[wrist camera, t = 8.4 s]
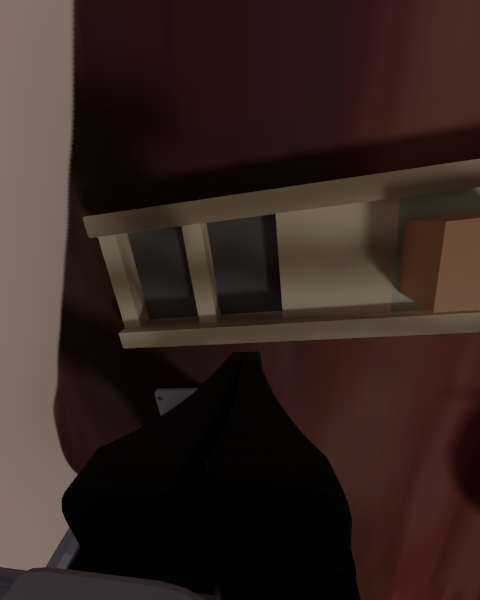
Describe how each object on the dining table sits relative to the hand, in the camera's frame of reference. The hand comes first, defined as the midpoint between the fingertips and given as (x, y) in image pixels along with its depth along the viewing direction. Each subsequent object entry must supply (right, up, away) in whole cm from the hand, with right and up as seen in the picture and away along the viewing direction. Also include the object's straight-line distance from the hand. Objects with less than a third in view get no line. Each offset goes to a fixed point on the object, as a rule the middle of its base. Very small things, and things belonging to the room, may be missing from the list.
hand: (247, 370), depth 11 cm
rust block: (+13, +6, +5) cm, 16 cm away
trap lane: (+4, +6, +8) cm, 11 cm away
